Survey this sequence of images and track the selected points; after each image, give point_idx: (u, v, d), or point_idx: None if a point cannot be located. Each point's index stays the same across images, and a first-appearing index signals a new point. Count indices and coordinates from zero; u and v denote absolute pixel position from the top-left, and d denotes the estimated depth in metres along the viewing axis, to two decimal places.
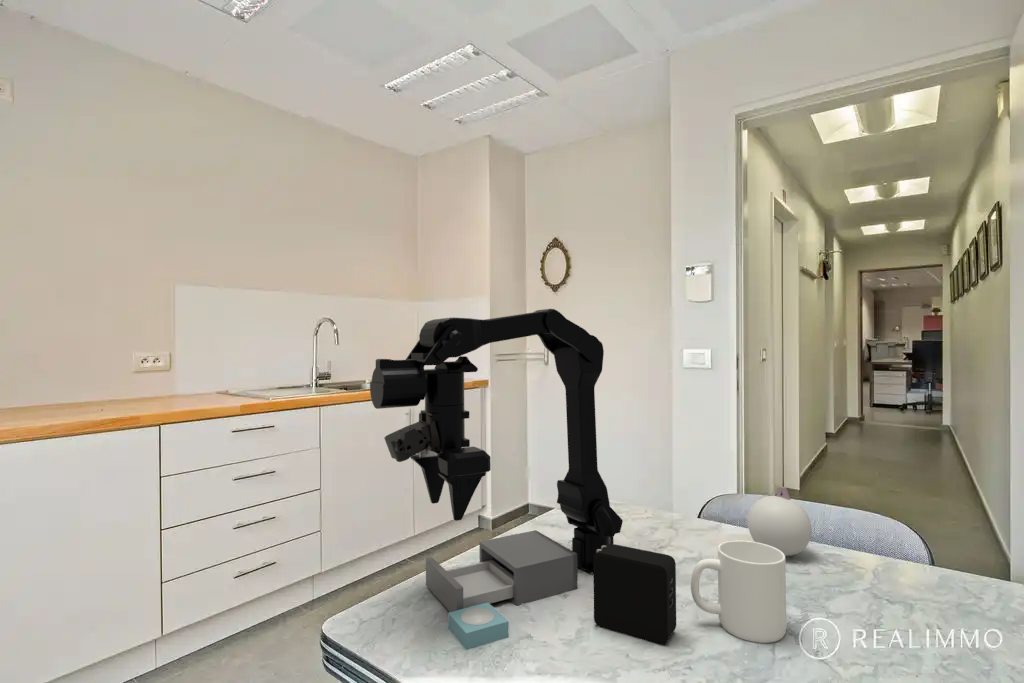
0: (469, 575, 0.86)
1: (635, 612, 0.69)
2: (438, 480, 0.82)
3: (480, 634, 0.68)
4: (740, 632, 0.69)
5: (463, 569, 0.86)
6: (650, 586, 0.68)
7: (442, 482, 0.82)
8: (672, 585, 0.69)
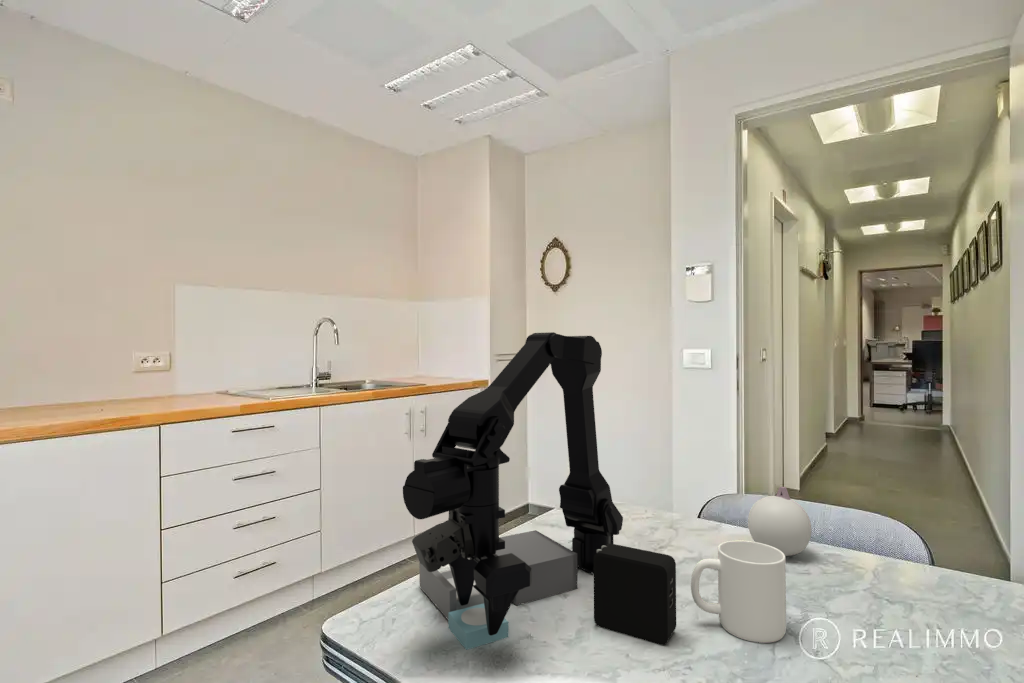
0: None
1: (635, 612, 0.69)
2: (468, 579, 0.75)
3: (480, 634, 0.68)
4: (740, 632, 0.69)
5: None
6: (650, 586, 0.68)
7: (472, 581, 0.75)
8: (672, 585, 0.69)
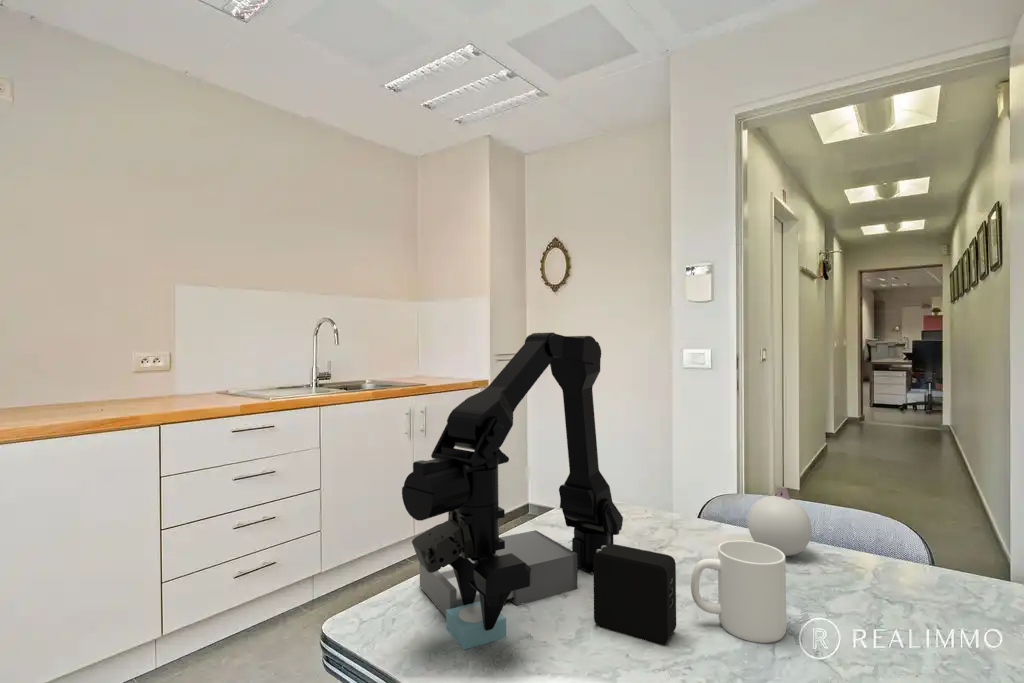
0: None
1: (635, 612, 0.69)
2: None
3: (478, 631, 0.68)
4: (740, 632, 0.69)
5: None
6: (650, 586, 0.68)
7: None
8: (672, 585, 0.69)
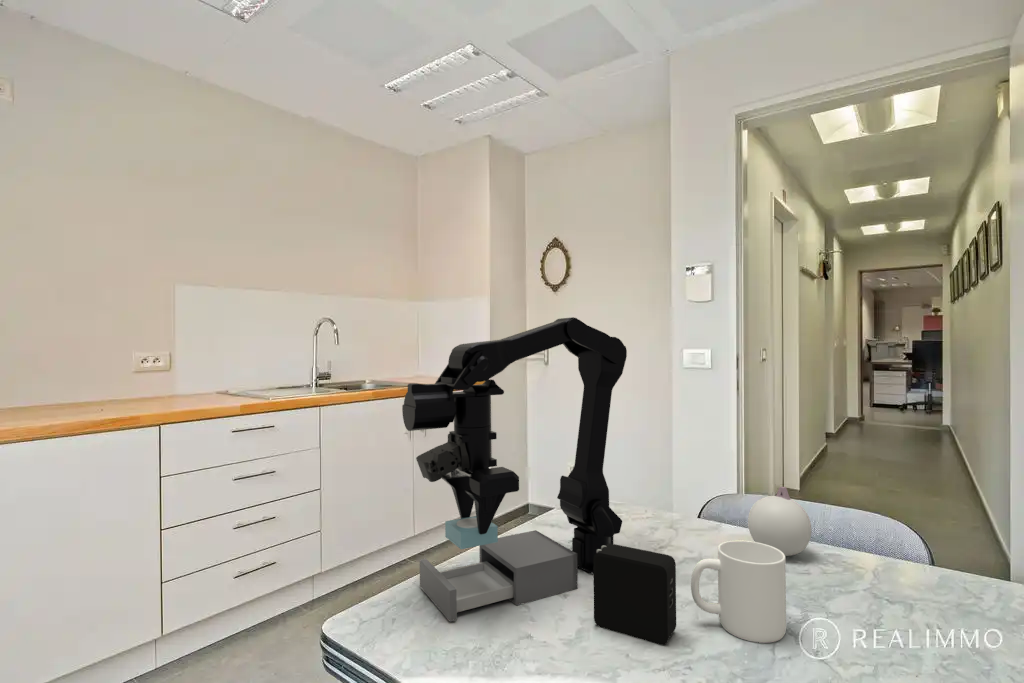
0: (463, 576, 0.85)
1: (635, 612, 0.69)
2: (468, 499, 0.85)
3: (473, 534, 0.78)
4: (740, 632, 0.69)
5: (458, 571, 0.85)
6: (650, 586, 0.68)
7: (472, 501, 0.85)
8: (672, 585, 0.69)
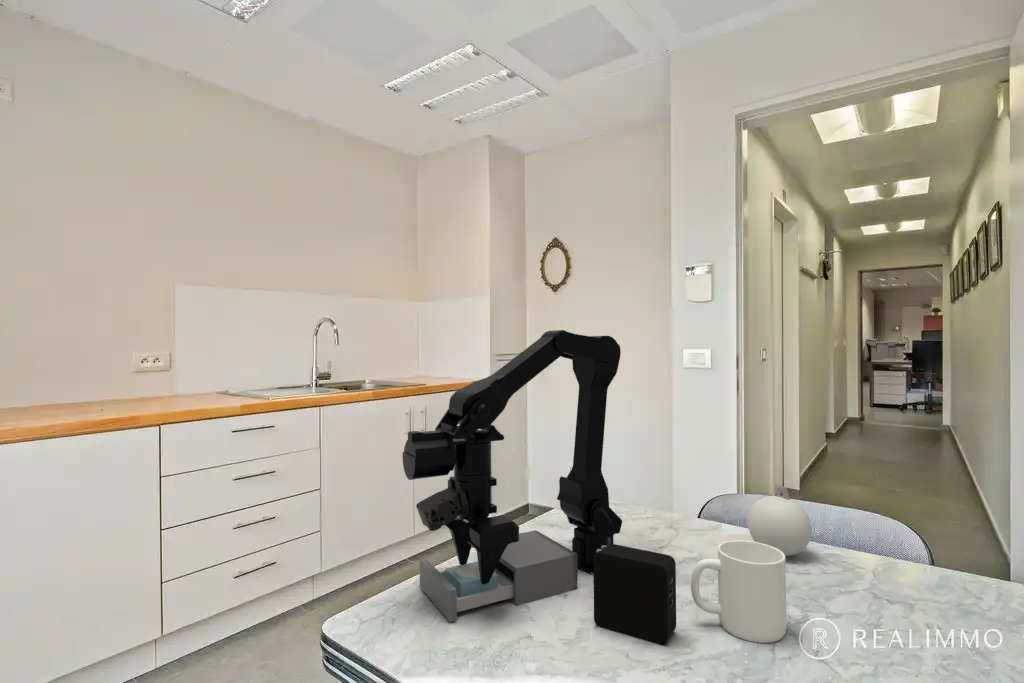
0: None
1: (635, 612, 0.69)
2: (466, 542, 0.85)
3: (473, 584, 0.78)
4: (740, 632, 0.69)
5: None
6: (650, 586, 0.68)
7: (470, 544, 0.86)
8: (672, 585, 0.69)
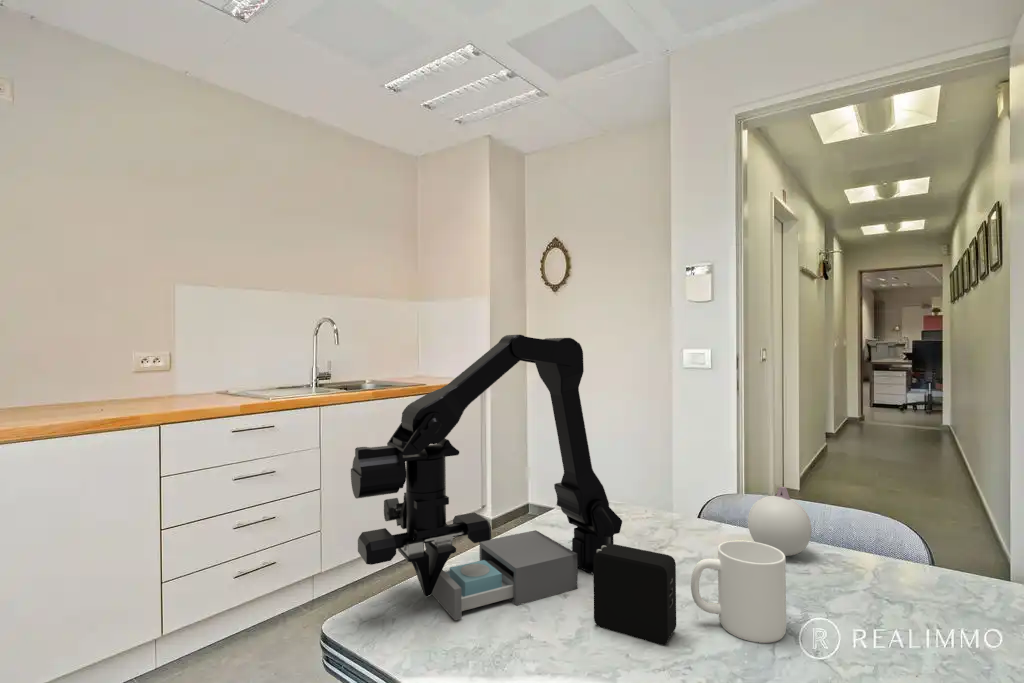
0: None
1: (635, 612, 0.69)
2: (429, 573, 0.77)
3: (477, 583, 0.78)
4: (740, 632, 0.69)
5: None
6: (650, 586, 0.68)
7: (431, 577, 0.77)
8: (672, 585, 0.69)
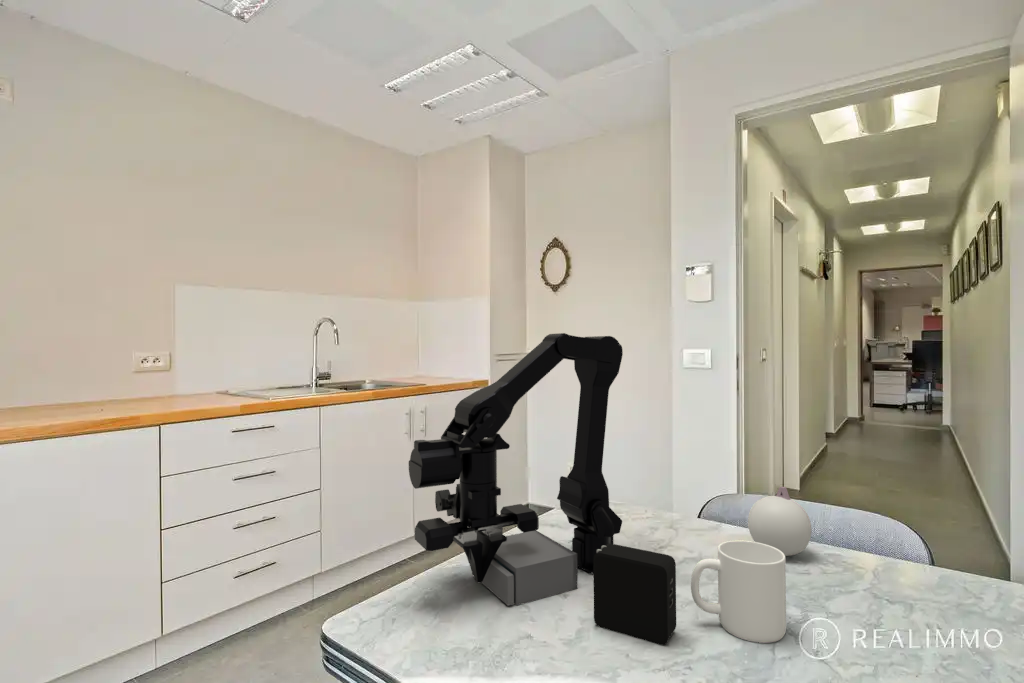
0: None
1: (635, 612, 0.69)
2: (481, 560, 0.81)
3: None
4: (740, 632, 0.69)
5: None
6: (650, 586, 0.68)
7: (483, 564, 0.81)
8: (672, 585, 0.69)
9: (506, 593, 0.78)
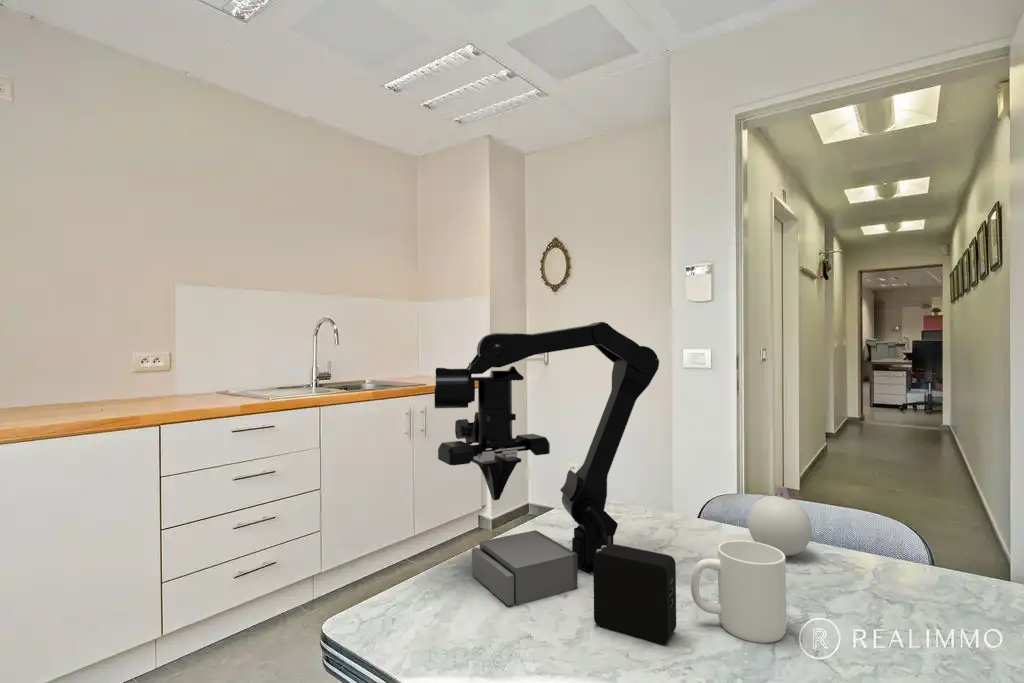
0: None
1: (635, 612, 0.69)
2: (498, 480, 0.90)
3: None
4: (740, 632, 0.69)
5: None
6: (650, 586, 0.68)
7: (500, 483, 0.89)
8: (672, 585, 0.69)
9: (506, 593, 0.78)
